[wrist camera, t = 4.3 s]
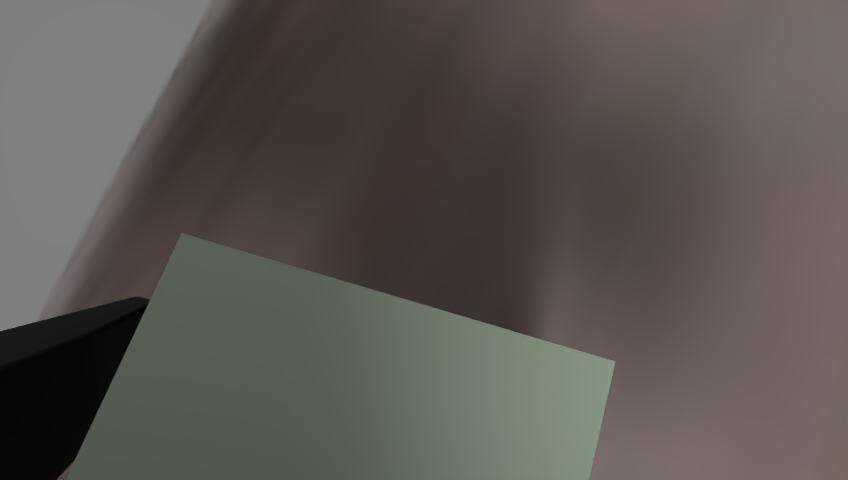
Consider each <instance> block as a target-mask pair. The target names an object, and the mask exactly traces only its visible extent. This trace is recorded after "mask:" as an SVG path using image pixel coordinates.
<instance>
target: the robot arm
mask: <svg viewBox="0 0 848 480" xmlns="http://www.w3.org/2000/svg"><path fill="white" fill-rule="evenodd" d="M149 301H150V300H148V299H145V298H142V297H132V298H128V299H124V300H120V301H116V302H112V303H108V304H105V305H101V306H97V307H93V308H89V309H85V310H81V311H77V312H73V313H70V314H66V315H62V316H58V317H54V318H50V319H46V320H42V321H38V322H35V323H31V324H27V325H23V326H19V327H15V328H11V329H7V330H4V331H0V480H57V479H58V478H59V476H60V475H61V474H62V473H63V472H64V471H65V470H66V469H67V468H68V467H69V466H70V465H71V464H72V462H73V461H74V460H75V459H76V457H77V455H78V452H79V450H80V448H81V446H82V444H83V442H84V440H85V438H86V435H87V433H88V431H89V429H90V427H91V425H92V423H93V421H94V418H95V416H96V414H97V412H98V410H99V408H100V406H101V404H102V401H103V399H104V397H105V395H106V393H107V391H108V389H109V387H110V384H111V382H112V380H113V378H114V376H115V374H116V372H117V369H118V367H119V365H120V363H121V361H122V359H123V357H124V355H125V352H126V350H127V348H128V346H129V344H130V342H131V340H132V338H133V335H134V333H135V331H136V329H137V327H138V325H139V323H140V321H141V318H142V316H143V314H144V312H145V310H146V308H147V306H148V304H149Z"/></svg>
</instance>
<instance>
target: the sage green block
mask: <svg viewBox="0 0 848 480" xmlns="http://www.w3.org/2000/svg"><path fill="white" fill-rule="evenodd" d="M614 366H615V361H612V360H608V359H605V358H602V357H598V356H595V355H592V354H588V353H585V352H581V351H578V350H575V349H571V348H568V347H565V346H561V345H558V344H555V343H551V342H548V341H544V340H541V339H538V338H534V337H531V336H528V335H524V334H521V333H517V332H514V331H511V330H507V329H504V328H501V327H497V326H494V325H490V324H487V323H484V322H480V321H477V320H474V319H470V318H467V317H463V316H460V315H457V314H453V313H450V312H447V311H443V310H440V309H436V308H433V307H430V306H426V305H423V304H420V303H416V302H413V301H409V300H406V299H403V298H399V297H396V296H393V295H389V294H386V293H383V292H379V291H376V290H372V289H369V288H366V287H362V286H359V285H356V284H352V283H349V282H345V281H342V280H339V279H335V278H332V277H329V276H325V275H322V274H318V273H315V272H312V271H308V270H305V269H302V268H298V267H295V266H291V265H288V264H285V263H281V262H278V261H275V260H271V259H268V258H264V257H261V256H258V255H254V254H251V253H248V252H244V251H241V250H238V249H234V248H231V247H227V246H224V245H221V244H217V243H214V242H211V241H207V240H204V239H200V238H197V237H194V236H190V235H187V234H184V233H181V236H180V238H179V240H178V242H177V244H176V246H175V248H174V250H173V253H172V255H171V257H170V259H169V261H168V263H167V265H166V267H165V270H164V272H163V274H162V276H161V278H160V280H159V282H158V284H157V287H156V289H155V291H154V293H153V295H152V297H151V299H150V301H149V304H148V306H147V308H146V310H145V312H144V314H143V316H142V318H141V321H140V323H139V325H138V327H137V329H136V331H135V333H134V335H133V338H132V340H131V342H130V344H129V346H128V348H127V350H126V352H125V355H124V357H123V359H122V361H121V363H120V365H119V367H118V369H117V372H116V374H115V376H114V378H113V380H112V382H111V384H110V387H109V389H108V391H107V393H106V395H105V397H104V399H103V401H102V404H101V406H100V408H99V410H98V412H97V414H96V416H95V418H94V421H93V423H92V425H91V427H90V429H89V431H88V433H87V435H86V438H85V440H84V442H83V444H82V446H81V448H80V450H79V452H78V455H77V457H76V459H75V461H74V463H73V465H72V467H71V469H70V472H69V474H68V476H67V478H66V480H589V477H590V473H591V468H592V464H593V460H594V455H595V451H596V446H597V442H598V437H599V433H600V428H601V424H602V420H603V415H604V411H605V406H606V402H607V397H608V393H609V388H610V384H611V380H612V375H613V371H614Z"/></svg>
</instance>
